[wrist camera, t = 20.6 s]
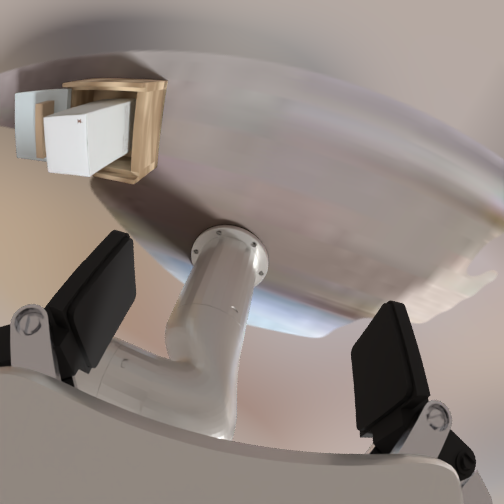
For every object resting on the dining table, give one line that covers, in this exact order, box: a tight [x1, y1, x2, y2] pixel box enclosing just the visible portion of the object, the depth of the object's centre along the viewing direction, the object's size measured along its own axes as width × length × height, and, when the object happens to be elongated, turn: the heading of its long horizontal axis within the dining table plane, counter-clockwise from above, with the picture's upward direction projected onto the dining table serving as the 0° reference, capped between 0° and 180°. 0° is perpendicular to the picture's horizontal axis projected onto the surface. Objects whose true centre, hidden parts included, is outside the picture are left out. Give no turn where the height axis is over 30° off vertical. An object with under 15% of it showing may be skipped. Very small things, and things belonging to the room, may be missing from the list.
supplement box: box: [43, 98, 137, 177], centre depth 30 cm, size 7×7×13 cm
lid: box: [15, 88, 72, 162], centre depth 29 cm, size 13×11×3 cm
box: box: [62, 78, 168, 184], centre depth 33 cm, size 13×13×7 cm
